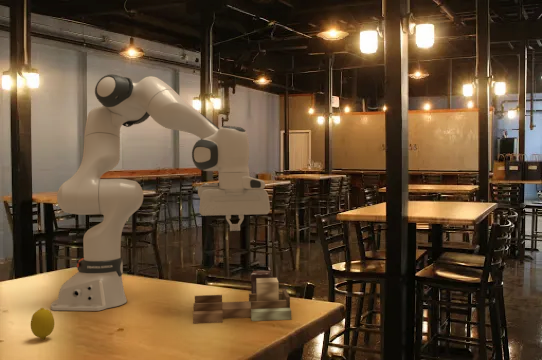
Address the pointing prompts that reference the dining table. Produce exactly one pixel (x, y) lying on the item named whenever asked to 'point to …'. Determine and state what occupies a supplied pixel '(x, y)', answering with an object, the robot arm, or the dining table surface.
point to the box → (258, 275)
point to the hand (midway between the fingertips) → (235, 230)
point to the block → (267, 289)
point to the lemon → (42, 323)
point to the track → (240, 308)
